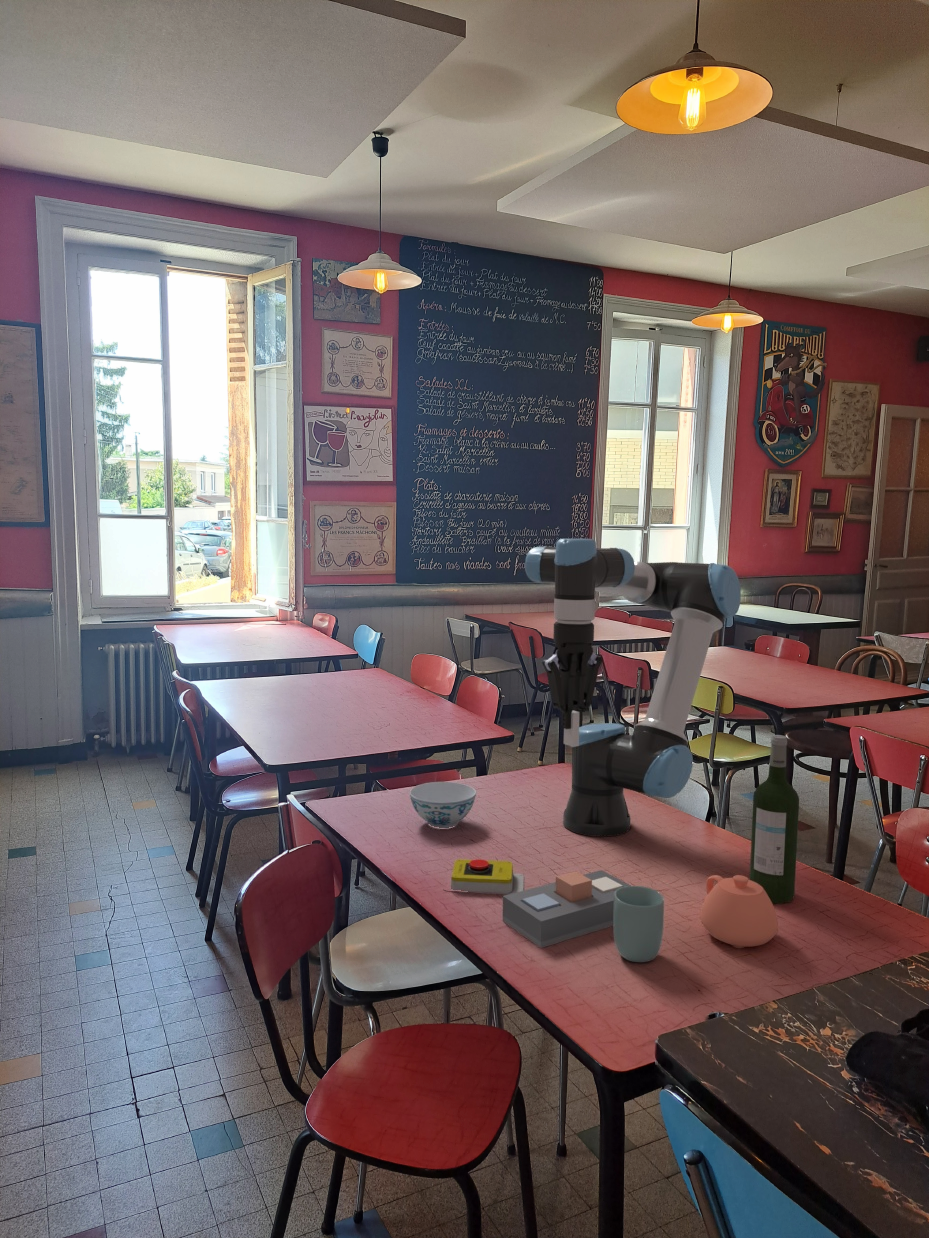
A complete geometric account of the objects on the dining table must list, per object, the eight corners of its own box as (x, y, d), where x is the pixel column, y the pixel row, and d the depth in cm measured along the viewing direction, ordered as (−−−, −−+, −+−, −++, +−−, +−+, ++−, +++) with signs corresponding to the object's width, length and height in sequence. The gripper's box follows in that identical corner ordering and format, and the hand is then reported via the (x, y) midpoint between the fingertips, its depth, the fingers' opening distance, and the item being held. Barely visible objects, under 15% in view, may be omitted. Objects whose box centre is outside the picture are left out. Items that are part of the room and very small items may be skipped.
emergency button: (447, 852, 168) (524, 855, 167) (447, 873, 169) (524, 877, 168) (442, 871, 159) (523, 874, 158) (442, 893, 160) (523, 897, 158)
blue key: (543, 912, 148) (543, 893, 148) (558, 922, 144) (559, 903, 144) (522, 918, 146) (522, 898, 145) (537, 929, 142) (538, 908, 142)
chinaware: (487, 821, 197) (488, 788, 196) (452, 841, 185) (452, 806, 184) (434, 809, 205) (434, 777, 204) (396, 827, 193) (396, 794, 192)
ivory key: (605, 895, 155) (605, 876, 155) (621, 904, 152) (622, 885, 151) (586, 900, 153) (586, 881, 153) (602, 910, 149) (603, 890, 149)
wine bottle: (793, 889, 162) (801, 733, 158) (794, 906, 154) (803, 743, 151) (749, 883, 164) (756, 729, 161) (748, 900, 157) (756, 739, 154)
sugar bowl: (738, 961, 135) (741, 898, 134) (677, 924, 147) (679, 866, 146) (793, 944, 141) (796, 884, 140) (730, 909, 153) (733, 854, 152)
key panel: (600, 893, 159) (601, 869, 159) (642, 916, 150) (643, 891, 149) (502, 920, 148) (502, 895, 147) (540, 947, 138) (541, 921, 138)
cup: (606, 944, 140) (608, 886, 139) (653, 943, 140) (655, 884, 139) (619, 969, 132) (621, 907, 131) (668, 967, 133) (671, 905, 132)
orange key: (575, 890, 151) (575, 871, 151) (591, 899, 148) (592, 880, 147) (555, 895, 149) (555, 876, 149) (571, 905, 145) (571, 885, 145)
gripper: (588, 617, 167) (585, 736, 170) (533, 621, 160) (531, 744, 163) (613, 621, 161) (610, 744, 163) (558, 625, 154) (555, 753, 156)
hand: (571, 744), depth 163 cm, fingers closed
